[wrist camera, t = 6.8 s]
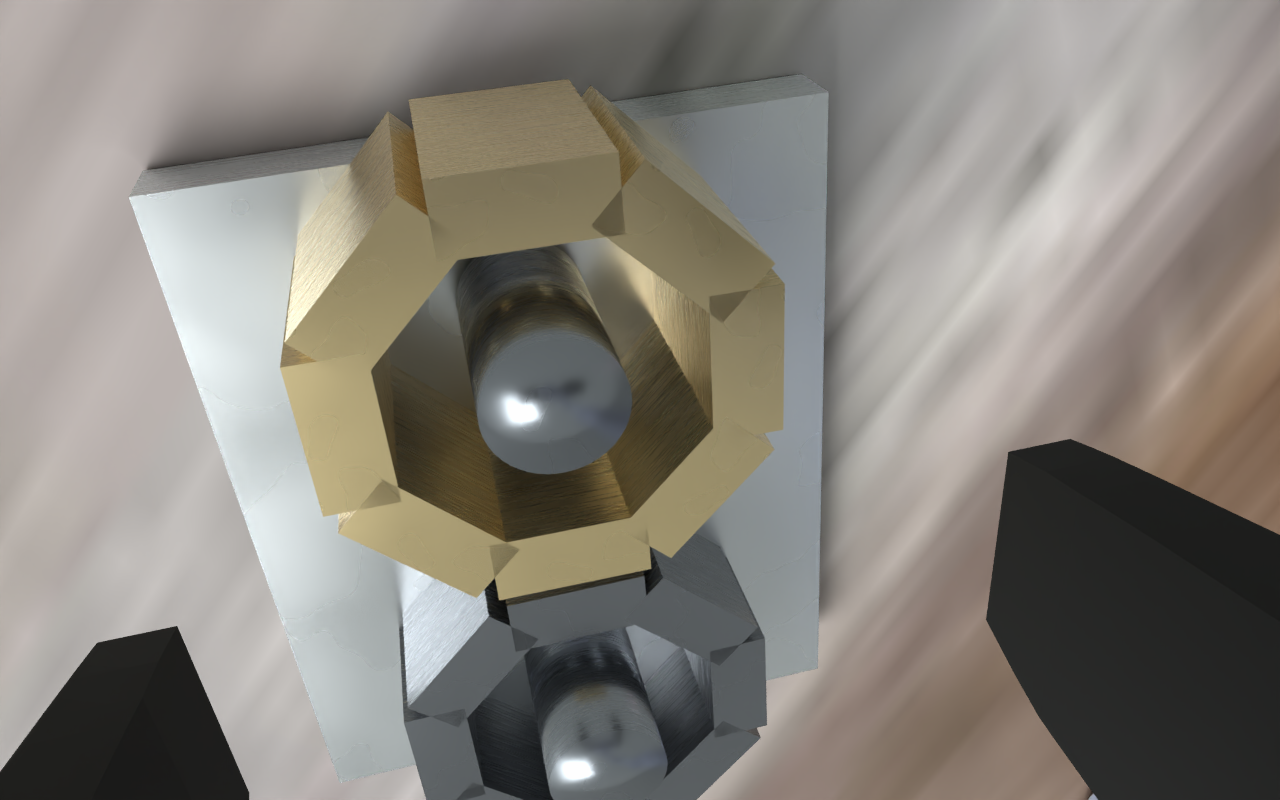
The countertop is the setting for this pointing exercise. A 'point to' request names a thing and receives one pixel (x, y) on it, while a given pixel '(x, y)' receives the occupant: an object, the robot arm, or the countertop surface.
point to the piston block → (533, 442)
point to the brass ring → (449, 432)
